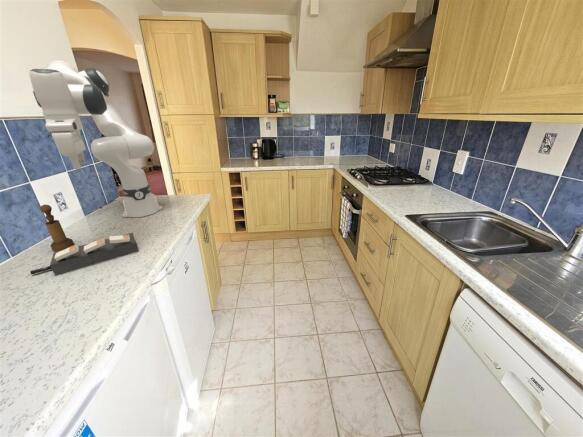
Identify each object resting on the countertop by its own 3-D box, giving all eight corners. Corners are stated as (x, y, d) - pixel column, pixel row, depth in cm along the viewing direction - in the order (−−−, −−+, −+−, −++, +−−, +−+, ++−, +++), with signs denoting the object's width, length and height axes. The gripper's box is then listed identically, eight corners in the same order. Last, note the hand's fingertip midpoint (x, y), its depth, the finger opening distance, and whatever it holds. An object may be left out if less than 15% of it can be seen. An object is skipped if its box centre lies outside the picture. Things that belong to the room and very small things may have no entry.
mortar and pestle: (54, 253, 92) (33, 209, 85) (50, 248, 96) (30, 206, 89) (76, 246, 97) (58, 204, 90) (71, 241, 101) (53, 200, 93)
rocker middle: (86, 248, 86) (83, 245, 85) (104, 240, 89) (102, 237, 88) (85, 253, 83) (83, 250, 82) (105, 244, 86) (102, 241, 85)
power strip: (35, 268, 83) (29, 256, 81) (135, 241, 100) (132, 230, 98) (29, 282, 76) (22, 270, 74) (138, 251, 92) (135, 240, 90)
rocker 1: (58, 255, 82) (55, 252, 81) (78, 246, 85) (76, 243, 84) (56, 261, 79) (53, 258, 78) (78, 251, 82) (75, 248, 81)
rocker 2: (109, 239, 89) (109, 235, 89) (128, 237, 93) (128, 234, 93) (109, 243, 86) (109, 239, 86) (129, 241, 90) (129, 238, 90)
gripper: (60, 124, 87) (75, 163, 93) (43, 125, 71) (62, 172, 76) (82, 124, 90) (95, 161, 96) (70, 124, 74) (87, 170, 79)
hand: (80, 166), depth 86 cm, fingers open, 8 cm apart
